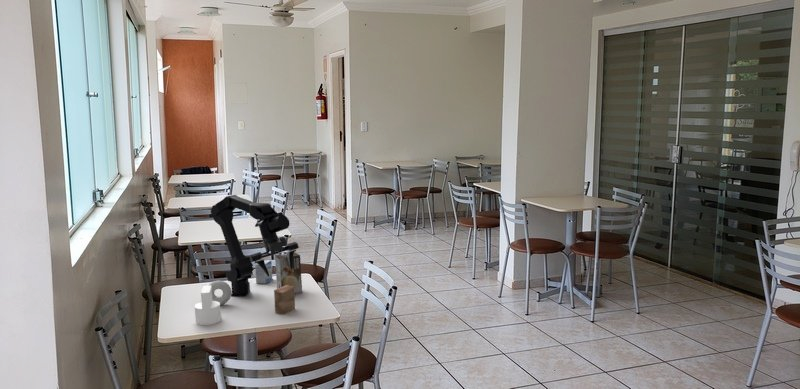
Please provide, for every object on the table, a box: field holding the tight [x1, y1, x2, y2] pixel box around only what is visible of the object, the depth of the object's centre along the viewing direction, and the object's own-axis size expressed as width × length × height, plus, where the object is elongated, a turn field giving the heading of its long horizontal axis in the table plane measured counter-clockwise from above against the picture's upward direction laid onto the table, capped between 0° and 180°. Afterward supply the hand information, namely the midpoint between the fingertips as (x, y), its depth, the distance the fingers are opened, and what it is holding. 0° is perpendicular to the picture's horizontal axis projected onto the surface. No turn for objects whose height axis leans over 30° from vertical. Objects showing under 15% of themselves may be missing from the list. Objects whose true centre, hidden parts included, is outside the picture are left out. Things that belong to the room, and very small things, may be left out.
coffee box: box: [274, 251, 303, 294], centre depth 259 cm, size 9×6×16 cm
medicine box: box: [254, 259, 273, 285], centre depth 275 cm, size 8×4×9 cm, turn 168°
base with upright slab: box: [194, 284, 222, 326], centre depth 227 cm, size 9×9×12 cm
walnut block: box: [273, 285, 296, 315], centre depth 236 cm, size 4×7×9 cm, turn 151°
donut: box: [207, 280, 232, 306], centre depth 244 cm, size 10×4×10 cm, turn 101°
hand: (280, 273), depth 242 cm, fingers open, 9 cm apart
